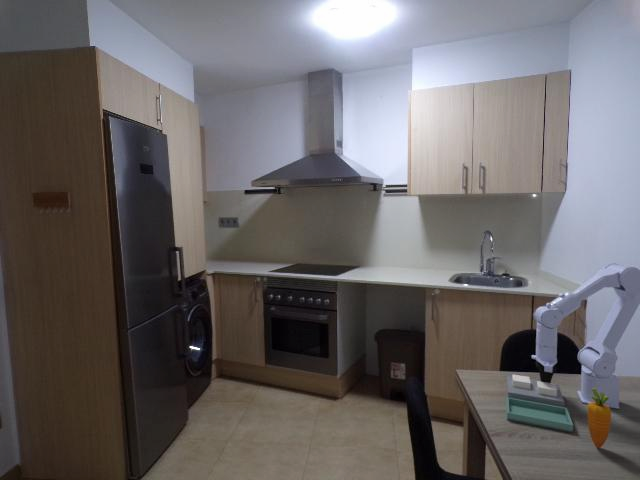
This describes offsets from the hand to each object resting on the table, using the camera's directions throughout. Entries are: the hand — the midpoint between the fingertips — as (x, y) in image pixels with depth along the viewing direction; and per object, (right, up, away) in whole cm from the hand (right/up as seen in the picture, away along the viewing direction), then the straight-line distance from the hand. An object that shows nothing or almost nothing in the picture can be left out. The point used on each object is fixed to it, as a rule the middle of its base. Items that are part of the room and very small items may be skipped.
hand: (545, 385), depth 120 cm
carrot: (-2, -6, -26) cm, 27 cm away
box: (-9, -5, -11) cm, 16 cm away
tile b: (-7, -1, +2) cm, 7 cm away
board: (-4, -4, 0) cm, 6 cm away
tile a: (-2, -1, -3) cm, 4 cm away
